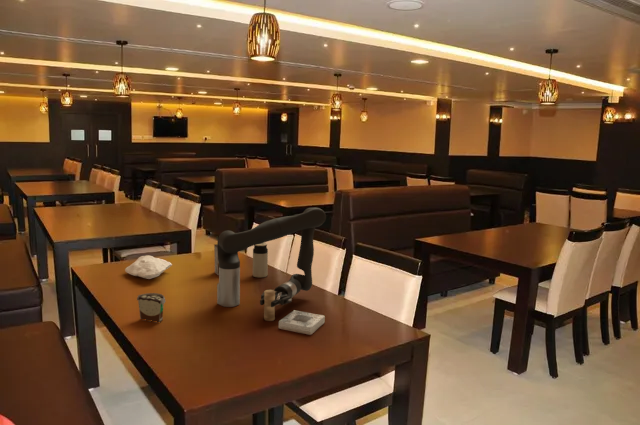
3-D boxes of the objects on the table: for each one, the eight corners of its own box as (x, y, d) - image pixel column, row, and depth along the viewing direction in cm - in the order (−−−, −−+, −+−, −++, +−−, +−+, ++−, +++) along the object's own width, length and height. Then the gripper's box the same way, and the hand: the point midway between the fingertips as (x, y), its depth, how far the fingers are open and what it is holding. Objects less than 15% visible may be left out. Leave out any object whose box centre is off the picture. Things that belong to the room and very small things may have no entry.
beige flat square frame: (278, 328, 190) (278, 321, 189) (294, 316, 203) (294, 310, 202) (310, 334, 185) (310, 327, 184) (324, 322, 197) (324, 315, 197)
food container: (172, 318, 197) (171, 295, 195) (162, 323, 191) (162, 299, 190) (147, 313, 201) (146, 291, 199) (137, 318, 195) (136, 295, 194)
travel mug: (264, 278, 256) (265, 245, 253) (250, 277, 258) (250, 244, 255) (269, 274, 264) (269, 242, 261) (255, 273, 265) (255, 241, 263)
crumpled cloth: (166, 262, 277) (163, 247, 275) (181, 278, 247) (178, 261, 245) (123, 273, 266) (120, 257, 264) (134, 290, 236) (130, 273, 234)
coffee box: (230, 270, 269) (230, 242, 266) (233, 273, 263) (233, 245, 261) (214, 272, 265) (214, 244, 262) (217, 275, 259) (217, 246, 256)
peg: (262, 319, 198) (262, 292, 196) (267, 316, 202) (267, 289, 200) (271, 321, 196) (271, 293, 194) (276, 318, 200) (277, 290, 199)
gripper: (271, 281, 213) (251, 292, 198) (300, 286, 208) (282, 297, 192) (271, 297, 214) (251, 309, 199) (299, 302, 209) (281, 315, 193)
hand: (266, 303), depth 196 cm, fingers closed on peg, 4 cm apart
